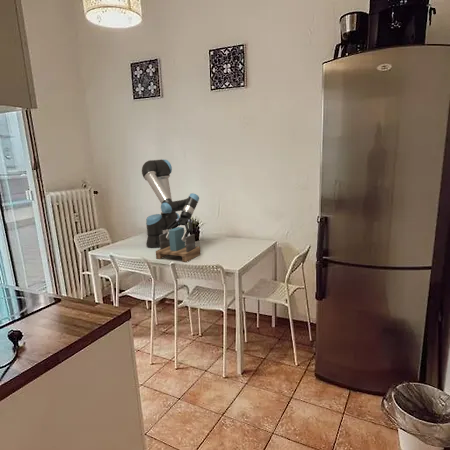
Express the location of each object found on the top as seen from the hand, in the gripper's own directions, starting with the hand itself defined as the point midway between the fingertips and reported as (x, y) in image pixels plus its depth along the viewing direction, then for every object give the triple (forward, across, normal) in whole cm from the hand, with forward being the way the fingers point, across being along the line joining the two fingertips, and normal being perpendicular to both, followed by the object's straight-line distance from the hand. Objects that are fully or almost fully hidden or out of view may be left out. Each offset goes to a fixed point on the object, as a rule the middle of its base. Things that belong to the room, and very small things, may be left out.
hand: (174, 239), depth 241 cm
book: (+3, 0, -7) cm, 8 cm away
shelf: (+7, 0, -11) cm, 13 cm away
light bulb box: (-23, +62, -42) cm, 78 cm away
